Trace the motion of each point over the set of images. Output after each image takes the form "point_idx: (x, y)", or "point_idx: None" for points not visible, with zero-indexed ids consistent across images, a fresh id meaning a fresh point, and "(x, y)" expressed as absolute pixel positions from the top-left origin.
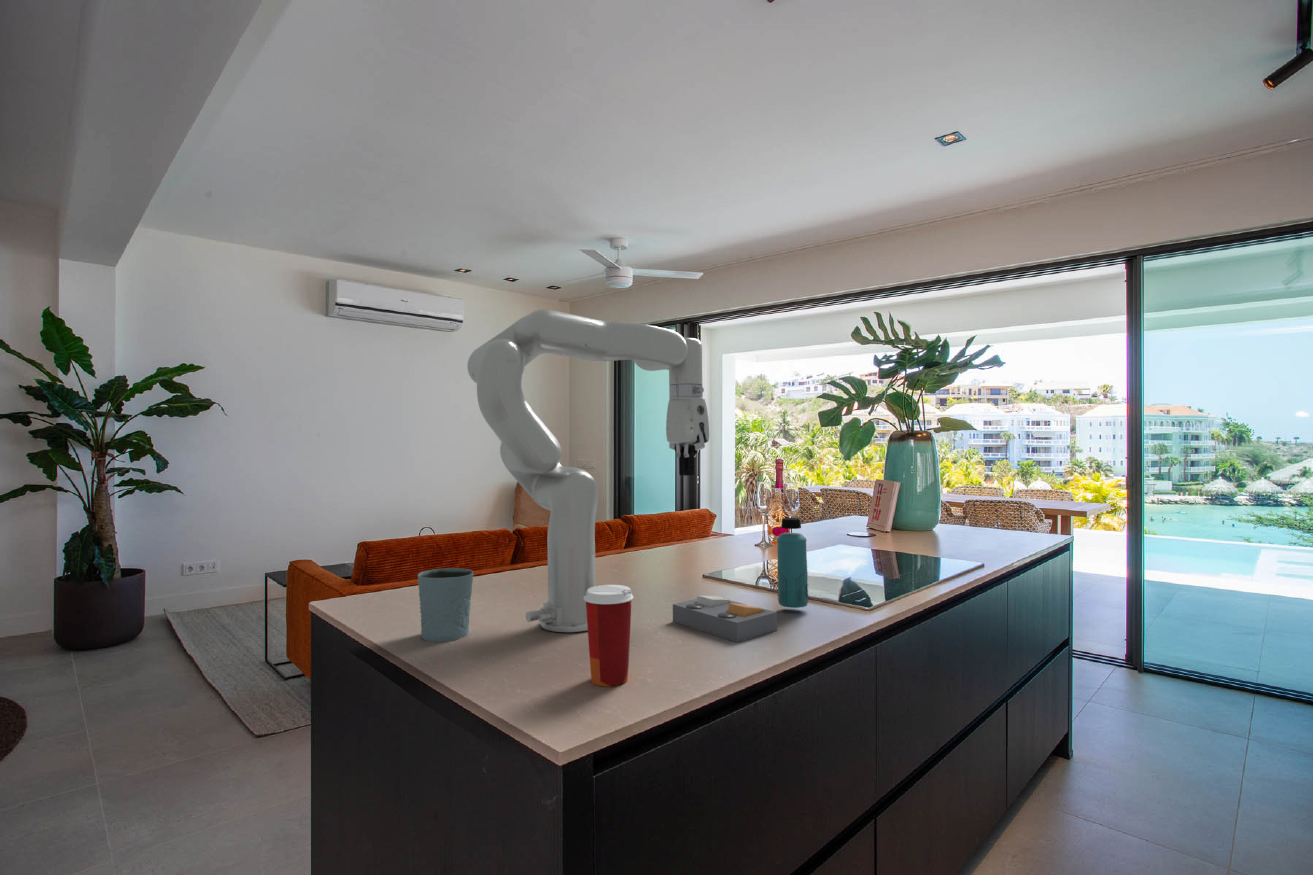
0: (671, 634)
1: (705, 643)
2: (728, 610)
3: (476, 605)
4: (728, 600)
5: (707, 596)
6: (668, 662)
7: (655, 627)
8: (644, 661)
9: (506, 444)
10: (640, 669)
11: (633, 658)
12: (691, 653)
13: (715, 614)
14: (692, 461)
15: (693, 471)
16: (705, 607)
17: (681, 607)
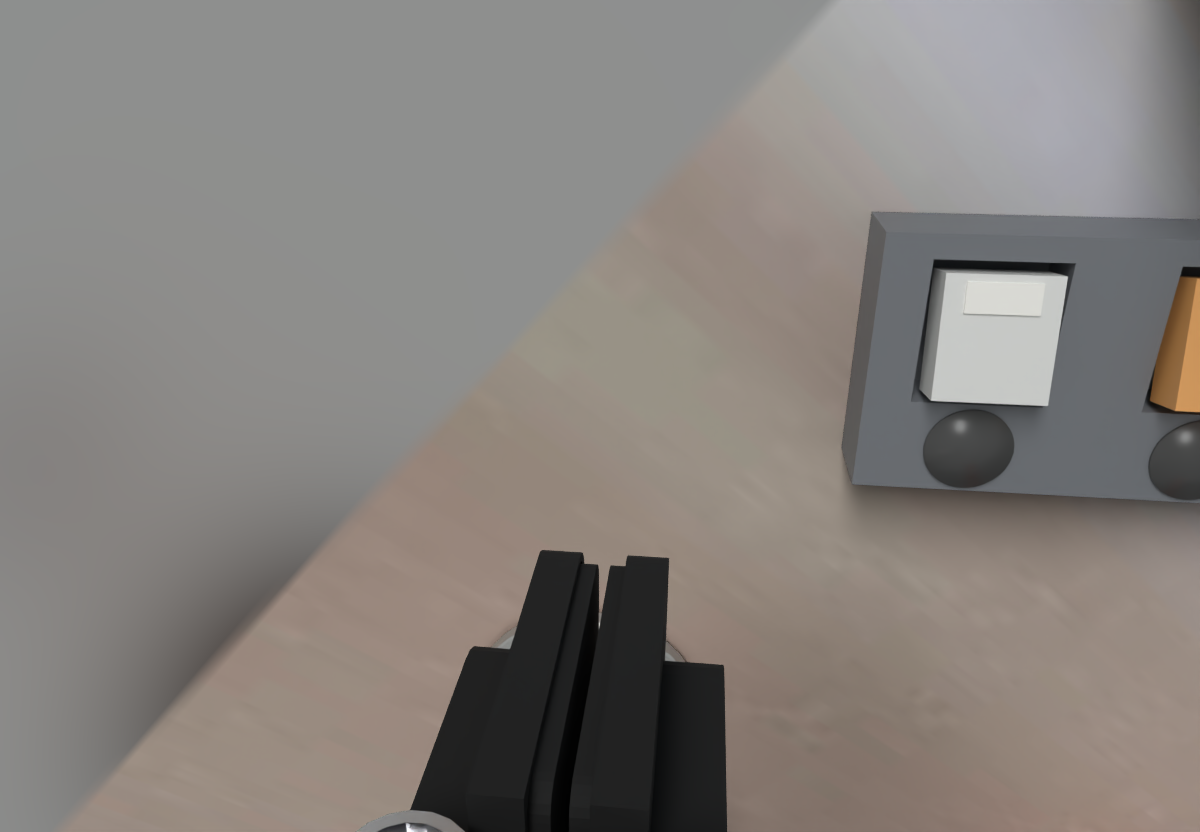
0: (962, 561)
1: (1145, 554)
2: (1160, 403)
3: (154, 764)
4: (1065, 283)
5: (959, 347)
6: (1154, 742)
7: (846, 543)
8: (1082, 775)
9: None
10: (1118, 817)
11: (1034, 777)
12: (1167, 651)
13: (1133, 476)
14: (720, 827)
15: (663, 602)
16: (1018, 425)
17: (915, 485)
